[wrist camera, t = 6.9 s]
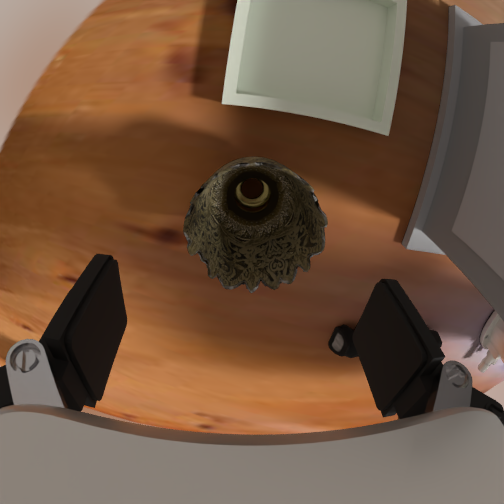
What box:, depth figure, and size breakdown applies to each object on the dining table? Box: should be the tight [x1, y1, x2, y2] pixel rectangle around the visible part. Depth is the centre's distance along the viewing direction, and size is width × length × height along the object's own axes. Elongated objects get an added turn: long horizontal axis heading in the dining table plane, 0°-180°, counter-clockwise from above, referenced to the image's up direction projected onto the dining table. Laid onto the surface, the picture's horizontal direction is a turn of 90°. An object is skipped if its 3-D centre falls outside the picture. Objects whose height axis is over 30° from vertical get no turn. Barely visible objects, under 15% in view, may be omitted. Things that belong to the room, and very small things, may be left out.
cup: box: [183, 157, 328, 293], centre depth 18 cm, size 8×7×8 cm
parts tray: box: [222, 0, 407, 136], centre depth 15 cm, size 12×12×2 cm
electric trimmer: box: [328, 325, 442, 358], centre depth 30 cm, size 4×16×3 cm, turn 81°
